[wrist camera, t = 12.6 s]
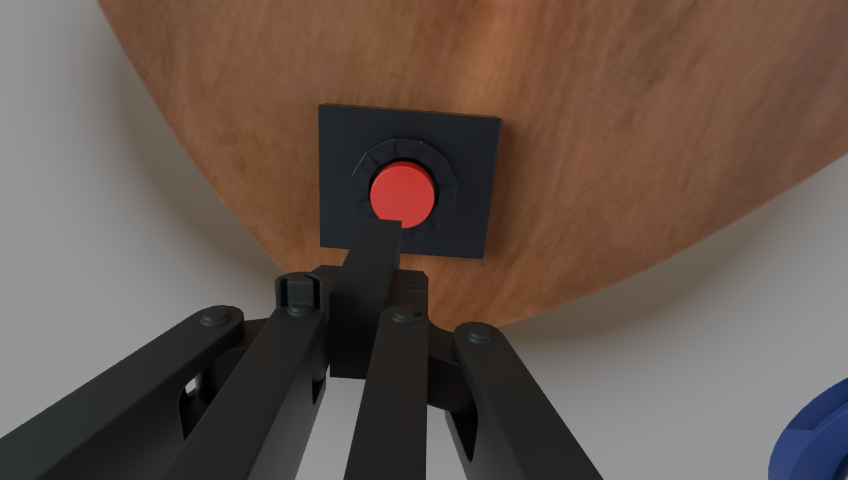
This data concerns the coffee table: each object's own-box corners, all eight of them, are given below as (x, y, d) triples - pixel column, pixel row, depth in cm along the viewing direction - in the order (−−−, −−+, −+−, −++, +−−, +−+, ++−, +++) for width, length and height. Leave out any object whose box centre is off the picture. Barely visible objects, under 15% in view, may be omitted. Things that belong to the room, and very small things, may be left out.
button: (436, 163, 27) (436, 168, 26) (431, 222, 29) (431, 230, 27) (374, 158, 27) (370, 163, 26) (373, 218, 29) (369, 226, 27)
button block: (496, 116, 30) (505, 120, 26) (480, 248, 33) (485, 269, 29) (326, 103, 30) (310, 105, 26) (327, 237, 33) (313, 256, 29)
